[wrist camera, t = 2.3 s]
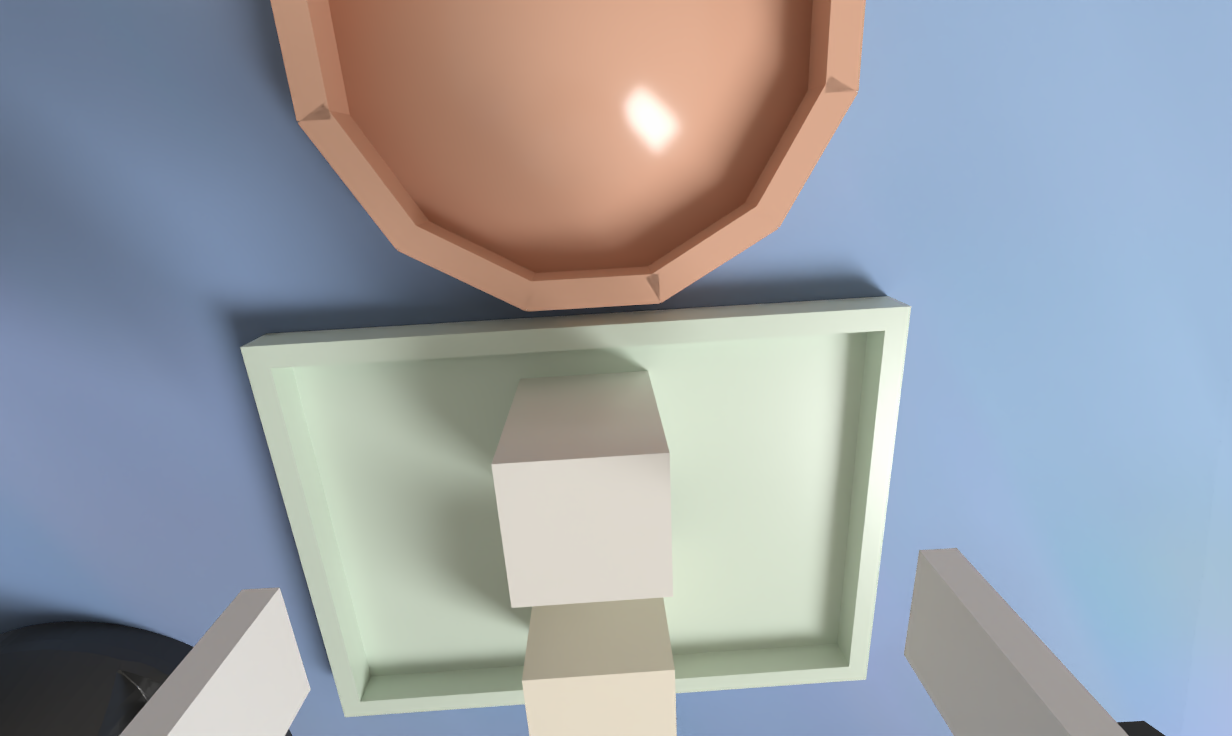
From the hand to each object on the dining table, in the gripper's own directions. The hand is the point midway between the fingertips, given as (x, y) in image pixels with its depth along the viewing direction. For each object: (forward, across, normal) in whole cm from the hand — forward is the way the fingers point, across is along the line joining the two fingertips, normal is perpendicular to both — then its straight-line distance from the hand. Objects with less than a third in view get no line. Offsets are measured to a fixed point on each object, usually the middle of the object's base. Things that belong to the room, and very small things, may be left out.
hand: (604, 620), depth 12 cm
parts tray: (+9, 0, -4) cm, 10 cm away
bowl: (+9, 0, +12) cm, 16 cm away
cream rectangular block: (+9, 0, -7) cm, 11 cm away
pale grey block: (+9, 0, 0) cm, 9 cm away
